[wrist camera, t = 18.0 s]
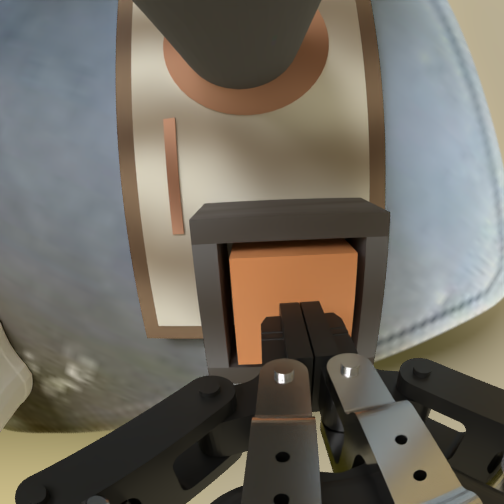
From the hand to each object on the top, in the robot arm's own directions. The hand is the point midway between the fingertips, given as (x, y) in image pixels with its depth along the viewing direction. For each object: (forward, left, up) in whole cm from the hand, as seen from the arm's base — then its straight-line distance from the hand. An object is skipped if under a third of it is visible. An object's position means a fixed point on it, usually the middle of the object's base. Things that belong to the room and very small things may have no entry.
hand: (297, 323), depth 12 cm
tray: (-7, -1, -7) cm, 10 cm away
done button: (0, 0, -5) cm, 5 cm away
